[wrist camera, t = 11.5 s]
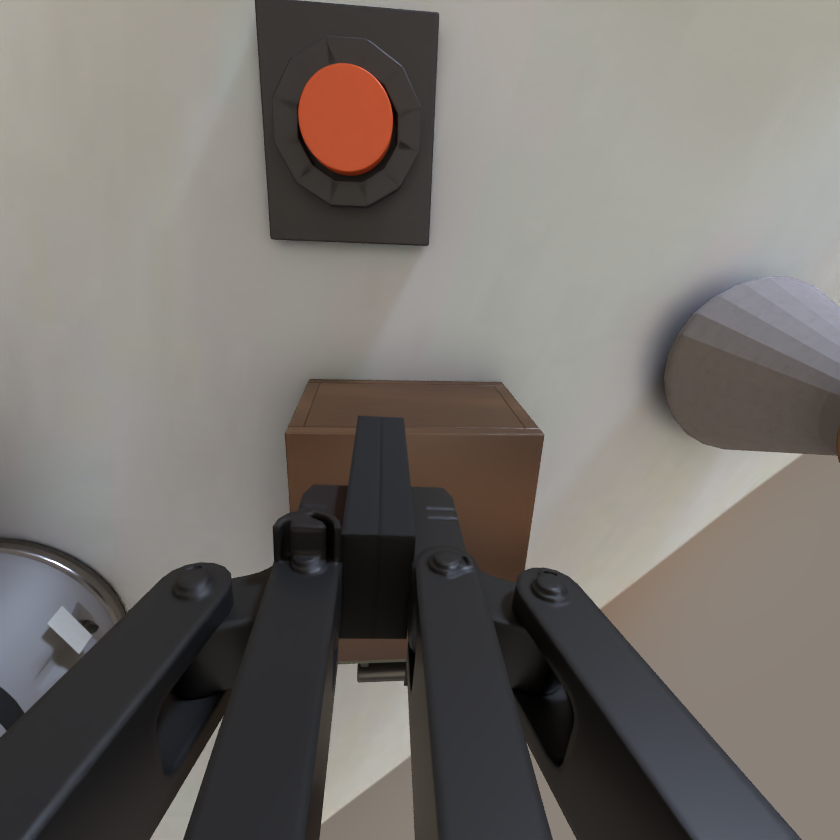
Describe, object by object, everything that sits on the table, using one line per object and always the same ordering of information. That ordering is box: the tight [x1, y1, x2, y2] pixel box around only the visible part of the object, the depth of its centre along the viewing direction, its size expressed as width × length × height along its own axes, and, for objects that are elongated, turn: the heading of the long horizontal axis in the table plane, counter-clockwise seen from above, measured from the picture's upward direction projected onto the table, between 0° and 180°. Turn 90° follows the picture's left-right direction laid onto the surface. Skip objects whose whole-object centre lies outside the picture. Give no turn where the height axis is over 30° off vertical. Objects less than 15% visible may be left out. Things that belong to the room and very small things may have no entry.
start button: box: [298, 63, 393, 176], centre depth 23 cm, size 4×4×2 cm
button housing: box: [255, 0, 439, 246], centre depth 26 cm, size 11×9×4 cm
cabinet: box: [285, 379, 544, 662], centre depth 31 cm, size 15×13×9 cm
